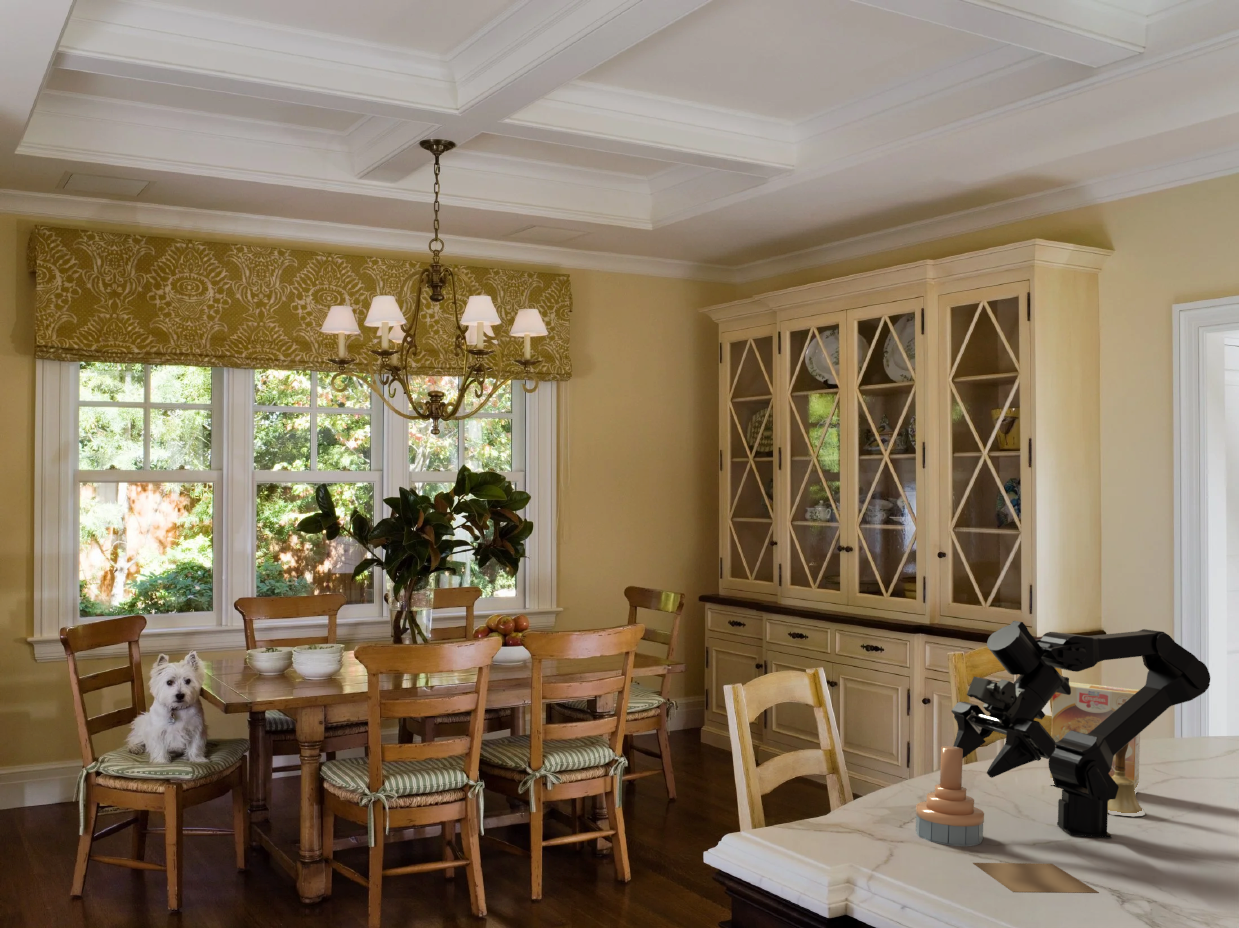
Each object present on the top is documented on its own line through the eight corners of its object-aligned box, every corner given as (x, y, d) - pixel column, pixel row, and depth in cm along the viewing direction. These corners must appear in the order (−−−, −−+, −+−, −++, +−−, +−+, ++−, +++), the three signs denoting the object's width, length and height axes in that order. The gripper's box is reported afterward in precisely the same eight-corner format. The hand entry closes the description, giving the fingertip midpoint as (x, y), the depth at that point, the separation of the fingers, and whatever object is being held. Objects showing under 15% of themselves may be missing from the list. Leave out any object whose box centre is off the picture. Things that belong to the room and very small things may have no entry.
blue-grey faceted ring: (972, 833, 172) (972, 811, 172) (989, 851, 162) (990, 827, 162) (910, 829, 172) (911, 807, 172) (924, 847, 163) (925, 823, 163)
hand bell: (1084, 804, 195) (1087, 714, 196) (1129, 806, 195) (1131, 716, 196) (1109, 817, 186) (1111, 723, 187) (1155, 818, 187) (1157, 725, 188)
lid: (993, 818, 168) (995, 749, 168) (969, 830, 160) (971, 758, 161) (931, 805, 174) (934, 739, 175) (905, 816, 167) (907, 746, 167)
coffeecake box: (1049, 785, 209) (1051, 683, 210) (1055, 779, 215) (1058, 679, 216) (1134, 799, 201) (1137, 692, 202) (1139, 792, 207) (1141, 688, 208)
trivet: (1052, 868, 155) (1052, 863, 155) (1099, 897, 143) (1099, 892, 144) (972, 867, 154) (972, 862, 154) (1012, 896, 142) (1013, 891, 142)
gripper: (962, 652, 180) (904, 721, 176) (1040, 668, 163) (978, 745, 158) (1000, 698, 182) (944, 768, 178) (1082, 719, 165) (1021, 797, 161)
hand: (969, 768), depth 169 cm, fingers open, 9 cm apart
